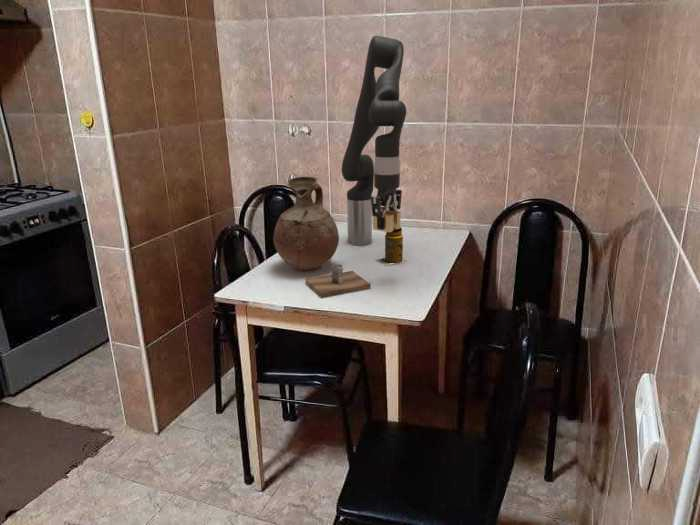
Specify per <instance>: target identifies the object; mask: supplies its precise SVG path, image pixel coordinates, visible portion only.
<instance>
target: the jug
mask: <svg viewBox="0 0 700 525" xmlns="http://www.w3.org/2000/svg"><path fill="white" fill-rule="evenodd" d="M287 182H288V187H289V188H290V189H291V191H292V192H294V194H295V203H294V205H293V206H291V207H289V208H288V209H287V210H285V211H284V212H282V213H281V214H280V215H279V217H278V220H277V222H276V225H275V227H274V230H273V239H272V241H273V245H274V249H275V250H276V252H277V253H278V256H279V257H280V258H281V259H282V260H283V261H284V262H285V263H286V264H288V265H289V266H291V267H293V268H294V269H296V270H297V271H300V272H307V273H308V272H310V273H311V272H315V271H318V270H320V269H321V268H322V267H323V265H325V264H326V263H328V262H329V261H330V260H331V259H332V257H333V256H334V255H335V254H336V252H337V250H338V246H339V241H340V237H339V236H340V234H339V229H338V225H337V224H336V222H335V219H334V218H333V217H332V215H331V213H330V212H329V211H328V210H327V209H326V208H324V206H323V204H324V194H323V192H324V191H323V187H321V184H319V182H318V179H317V178H316V177H314V176H305V175H304V176H295V177H292V178H289V179H288V181H287ZM313 192H314V193H315V199H314V200H315V201H313V197H312V194H313Z"/></svg>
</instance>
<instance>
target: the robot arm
mask: <svg viewBox="0 0 700 525" xmlns="http://www.w3.org/2000/svg"><path fill="white" fill-rule="evenodd" d="M404 49H405V48H404V43H403V42H402V41H401V40H398V39H397V38H396V39H395V38H391V37H387V36H386V37H385V36H381V35H374V36H372V37H371V39H370V42H369V44H368V50H367V55H366V59H365V60H366V61H365V68H364V73H363V79H362V85H361V89H360V94H359V98H358V101H357V105H356V109H355V113H354V120H353V125H352V129H351V133H350V138H349V141H348V143H347V146H346V149H345V152H344V156H343V159H342V164H341V174H342V178H343V179H344V180H345V181H346V182H356V184H355V185H354V186H353V187H351V188H350V189H348V190H347V193H346V205H347V206H346V207H347V209H346V210H347V215H346V216H347V222H346V223H347V244H349V245H353V246H367V245H370V244H372V242H373V239H372V238H373V237H372V236H373V235H372V232H373V216H376V217H377V229H380V230H383V229H384V220H385V218H384V216H385V212H386V211H387V210H391V211H399V210H401V205H402V197H403V196H402V195H403V194H402V193H403V190H401V189H398V188H400V186H401V181H400V179H401V162H400V144H401V143H400V141H401V134H402V130H403V126H404V124H405V121H406V116H407V106H406V104H405V103H404V102H403V101H401V100H400V78H401V73H402V67H403V59H404V53H405V50H404ZM376 68H380V69H385V70H384V72H382V73H381V74H380V75H379V76H378V77H377V80H376V75H375V70H376ZM380 127H393V128H392V130H391V131H390V132H388V133H384V134H380V135H377V136H376V137H375V140H374V141H375V142H374V150H375V151H374V161H373V159H372V157H371V156H370V155H368V154H362V153H363V150H364V148H365V147H366V146H367V144H368V143H369V142H370V140H371V139H372V138H373V137H374V135H375V134H376V133H377V131H378V129H380ZM374 188H375V189H377V194H376V196H372V195H373V192H374ZM381 210H382V213H381Z"/></svg>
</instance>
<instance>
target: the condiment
mask: <svg viewBox="0 0 700 525" xmlns="http://www.w3.org/2000/svg"><path fill="white" fill-rule="evenodd" d="M402 233H403V229H402V226H400V228H399V229H395V228H394V227H393V231H392V232H385V236H384V257H382V258H377V259H376V261H377V262H378V263H381V264H383V265H386V266H387V267H389V266H392V265H393V266H394V265H397V264H396V263H398V264H401V263H406V262H408V260H406V259H405V258H404V259H403V257H404V256H403V253H404V252H403V247H404V244H403V243H404V241H403V240H404V236H403V234H402ZM403 261H404V262H403ZM400 262H401V263H400ZM390 263H395V264H390Z"/></svg>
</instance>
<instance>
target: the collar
mask: <svg viewBox="0 0 700 525" xmlns="http://www.w3.org/2000/svg"><path fill="white" fill-rule="evenodd" d="M381 213H382V210H381ZM384 218H385V220H384V229H383V230H380V229H377V217H376V216H373V215H372V231H373V230H374V231H380V232H385V233H386V232H392V231H393V227H394V228H395V229H399V228H400V227H401V211H399V210H397V211H391V210H387V211H386V212H385V216H384Z"/></svg>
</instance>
